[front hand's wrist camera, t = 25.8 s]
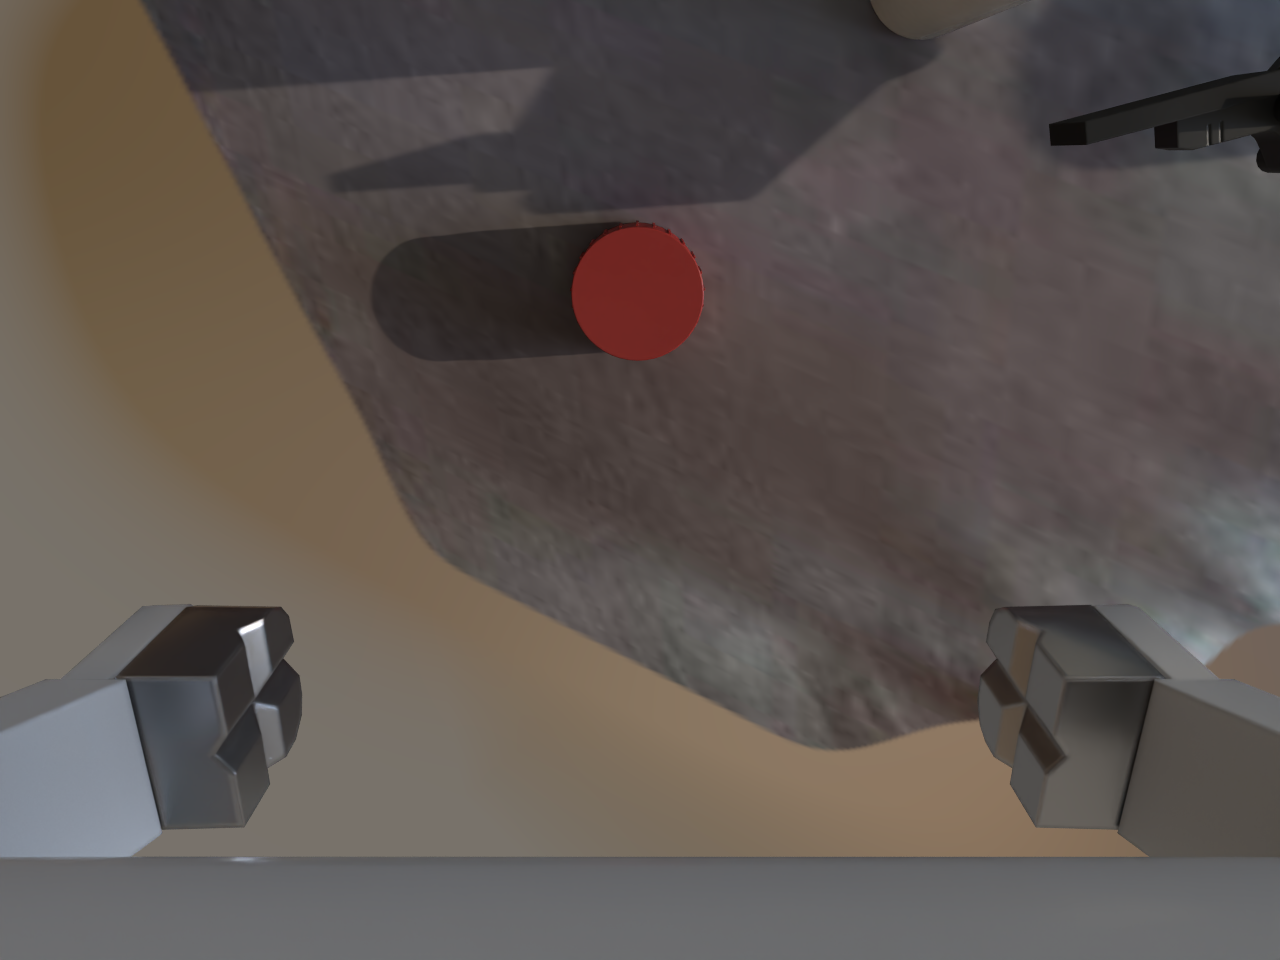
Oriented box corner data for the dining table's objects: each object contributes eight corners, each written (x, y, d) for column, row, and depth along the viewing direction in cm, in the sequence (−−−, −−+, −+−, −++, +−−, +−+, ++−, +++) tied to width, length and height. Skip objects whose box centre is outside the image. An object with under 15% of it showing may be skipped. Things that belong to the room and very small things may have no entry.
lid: (557, 239, 38) (552, 245, 36) (684, 205, 37) (687, 208, 35) (593, 363, 40) (590, 376, 38) (714, 332, 39) (719, 343, 37)
